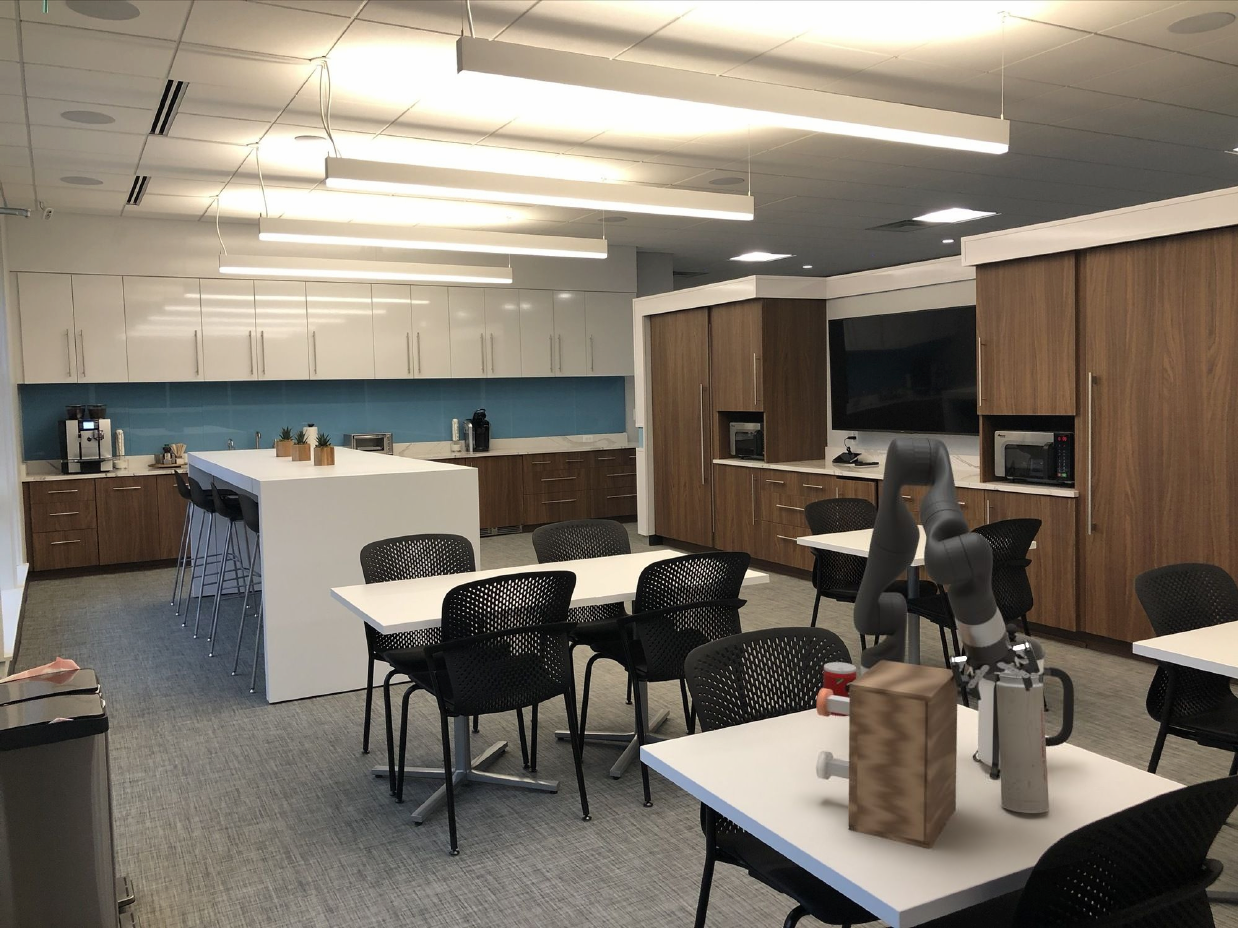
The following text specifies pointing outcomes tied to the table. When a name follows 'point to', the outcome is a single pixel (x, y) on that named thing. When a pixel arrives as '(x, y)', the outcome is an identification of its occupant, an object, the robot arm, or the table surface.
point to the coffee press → (989, 712)
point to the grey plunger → (831, 766)
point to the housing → (902, 752)
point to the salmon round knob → (831, 703)
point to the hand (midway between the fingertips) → (1002, 692)
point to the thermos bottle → (1022, 743)
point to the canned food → (839, 679)
